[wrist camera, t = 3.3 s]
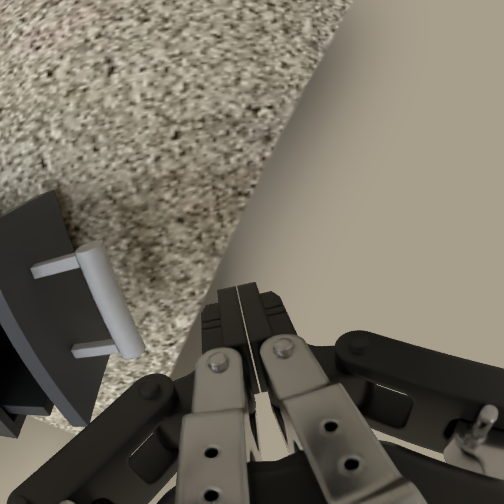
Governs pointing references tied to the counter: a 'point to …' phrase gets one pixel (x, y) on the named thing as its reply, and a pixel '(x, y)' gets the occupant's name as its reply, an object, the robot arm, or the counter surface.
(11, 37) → the counter surface
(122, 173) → the counter surface
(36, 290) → the cabinet drawer
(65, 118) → the counter surface
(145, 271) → the counter surface
